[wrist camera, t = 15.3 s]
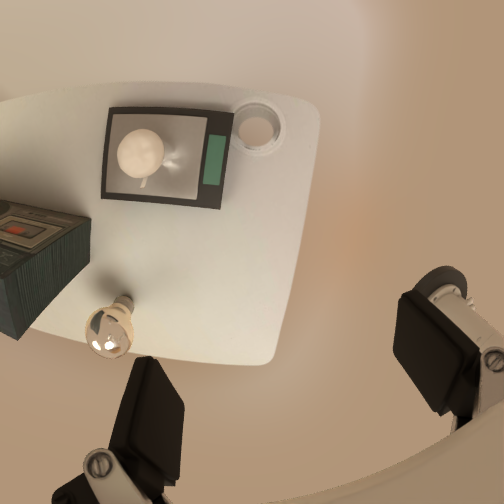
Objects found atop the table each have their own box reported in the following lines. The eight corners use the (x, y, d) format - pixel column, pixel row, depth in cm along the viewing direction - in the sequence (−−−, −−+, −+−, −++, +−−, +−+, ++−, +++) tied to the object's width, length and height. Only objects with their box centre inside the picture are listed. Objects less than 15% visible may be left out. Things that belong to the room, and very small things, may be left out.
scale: (233, 115, 31) (234, 112, 28) (220, 205, 35) (220, 210, 32) (116, 109, 29) (107, 106, 26) (108, 195, 33) (98, 199, 30)
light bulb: (140, 325, 41) (121, 376, 30) (103, 308, 39) (75, 354, 28) (152, 292, 39) (131, 343, 28) (112, 274, 37) (79, 318, 26)
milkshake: (149, 182, 30) (119, 196, 21) (138, 140, 28) (104, 138, 19) (184, 171, 30) (166, 180, 21) (174, 129, 28) (152, 120, 19)
